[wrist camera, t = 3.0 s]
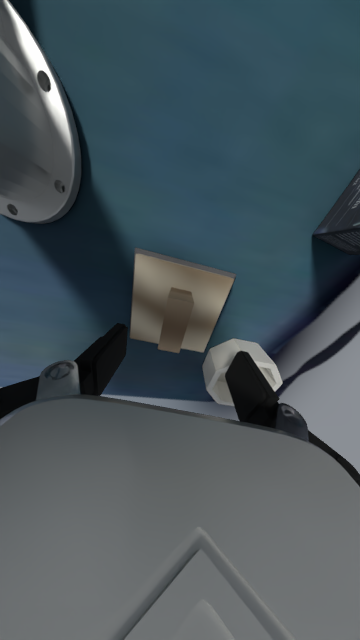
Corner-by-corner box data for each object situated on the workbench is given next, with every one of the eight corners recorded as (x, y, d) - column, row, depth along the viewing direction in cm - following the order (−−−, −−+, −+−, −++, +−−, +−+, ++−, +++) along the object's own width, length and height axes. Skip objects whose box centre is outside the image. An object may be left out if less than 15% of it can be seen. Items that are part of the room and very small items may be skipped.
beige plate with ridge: (139, 253, 14) (118, 253, 10) (230, 277, 15) (251, 287, 11) (132, 333, 19) (117, 358, 15) (202, 347, 20) (208, 375, 16)
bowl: (216, 334, 20) (224, 354, 16) (273, 346, 21) (296, 368, 17) (197, 376, 24) (200, 401, 20) (245, 385, 25) (257, 410, 21)
